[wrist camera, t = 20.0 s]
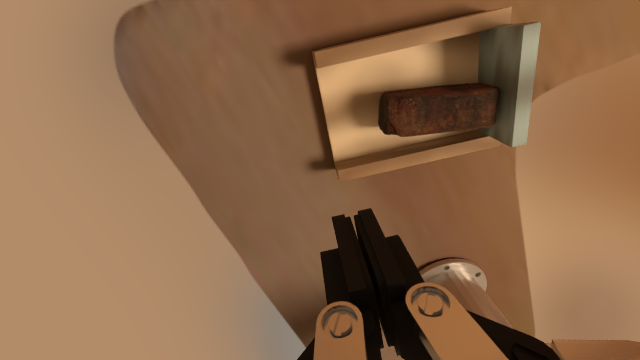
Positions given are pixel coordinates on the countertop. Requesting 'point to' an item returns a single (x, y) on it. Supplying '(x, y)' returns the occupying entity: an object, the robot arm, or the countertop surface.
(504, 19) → the rail board
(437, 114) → the brick
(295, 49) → the countertop surface
